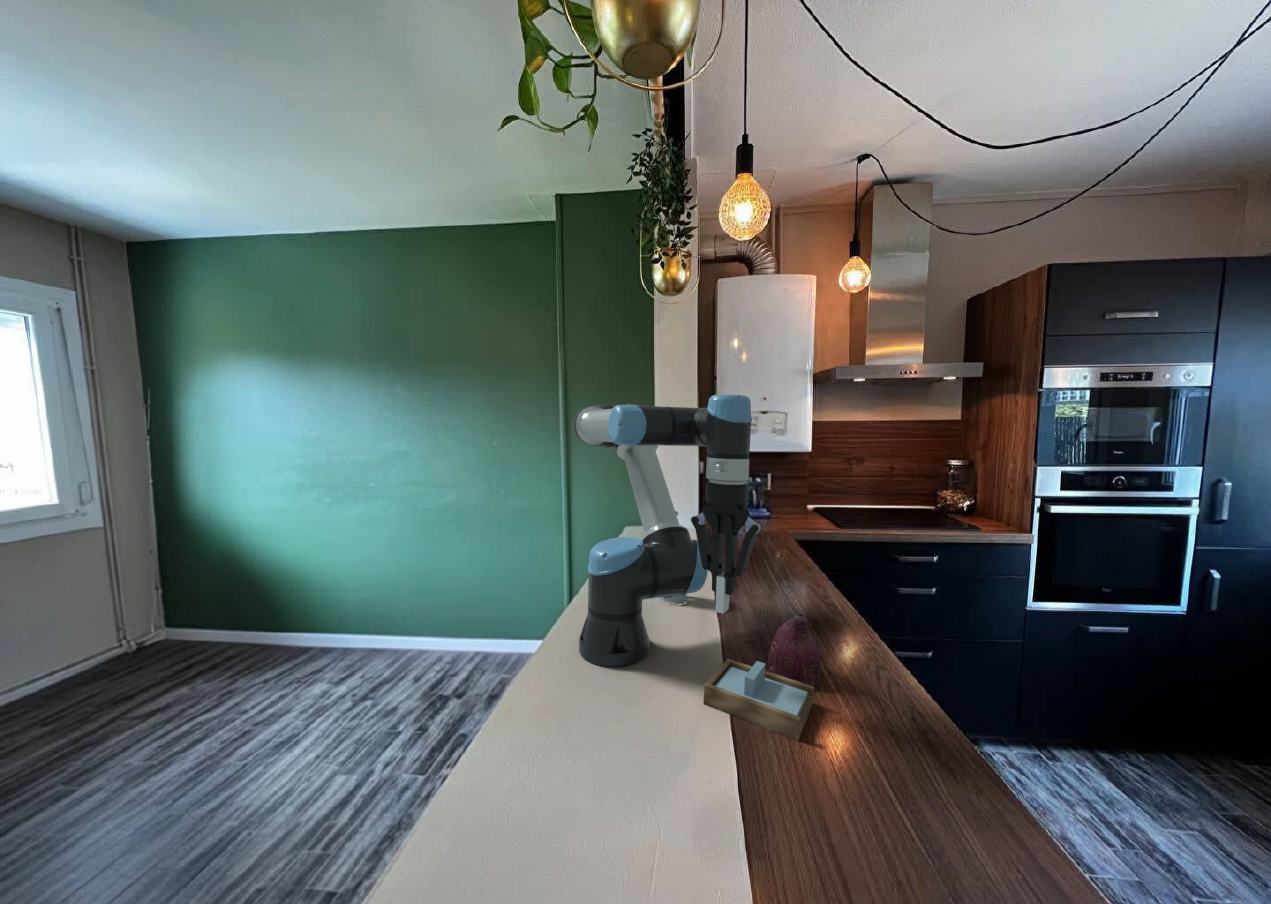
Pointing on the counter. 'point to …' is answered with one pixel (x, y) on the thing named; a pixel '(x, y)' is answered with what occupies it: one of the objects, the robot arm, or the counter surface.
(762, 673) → the lid
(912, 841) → the counter surface
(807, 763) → the counter surface
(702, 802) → the counter surface
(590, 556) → the robot arm
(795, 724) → the pencil box
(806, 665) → the vegetable
